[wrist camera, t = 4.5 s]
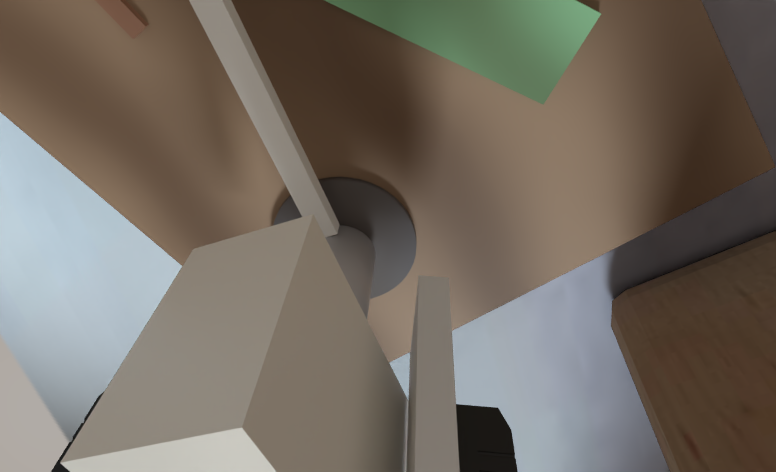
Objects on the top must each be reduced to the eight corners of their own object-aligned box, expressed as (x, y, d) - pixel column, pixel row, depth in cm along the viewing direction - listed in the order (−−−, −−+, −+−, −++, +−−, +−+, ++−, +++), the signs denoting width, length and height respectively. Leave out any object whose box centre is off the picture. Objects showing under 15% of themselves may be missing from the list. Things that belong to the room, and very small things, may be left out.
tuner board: (339, 346, 23) (330, 398, 20) (-11, 28, 16) (-83, 53, 14) (733, 131, 16) (781, 172, 14) (424, -522, 10) (424, -636, 8)
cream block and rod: (344, 344, 18) (286, 665, 11) (97, -99, 11) (-514, -50, 4) (423, 326, 18) (420, 656, 10) (212, -156, 11) (-265, -222, 3)
